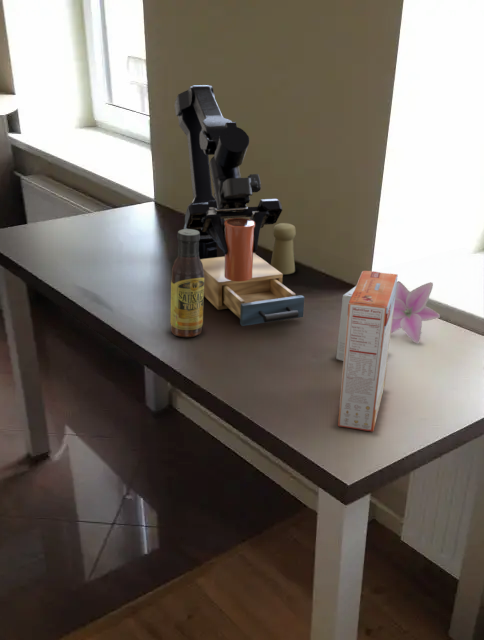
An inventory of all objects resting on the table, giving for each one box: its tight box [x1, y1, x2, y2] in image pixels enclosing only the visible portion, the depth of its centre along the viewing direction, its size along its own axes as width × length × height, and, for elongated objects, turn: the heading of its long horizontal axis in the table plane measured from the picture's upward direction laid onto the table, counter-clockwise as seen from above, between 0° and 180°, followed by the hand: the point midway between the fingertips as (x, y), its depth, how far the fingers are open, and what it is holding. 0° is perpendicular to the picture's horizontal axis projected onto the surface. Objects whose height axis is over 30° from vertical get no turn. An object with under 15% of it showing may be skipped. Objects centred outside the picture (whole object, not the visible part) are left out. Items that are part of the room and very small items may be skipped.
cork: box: [270, 222, 297, 275], centre depth 173 cm, size 6×6×11 cm
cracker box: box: [337, 270, 399, 432], centre depth 114 cm, size 14×6×21 cm, turn 163°
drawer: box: [222, 279, 305, 327], centre depth 150 cm, size 17×13×4 cm
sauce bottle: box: [169, 228, 205, 338], centre depth 139 cm, size 7×6×20 cm
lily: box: [391, 280, 441, 345], centre depth 145 cm, size 12×12×10 cm
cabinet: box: [200, 252, 284, 311], centre depth 161 cm, size 15×15×6 cm
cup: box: [224, 217, 255, 281], centre depth 145 cm, size 6×6×11 cm
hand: (240, 252), depth 144 cm, fingers closed on cup, 5 cm apart
